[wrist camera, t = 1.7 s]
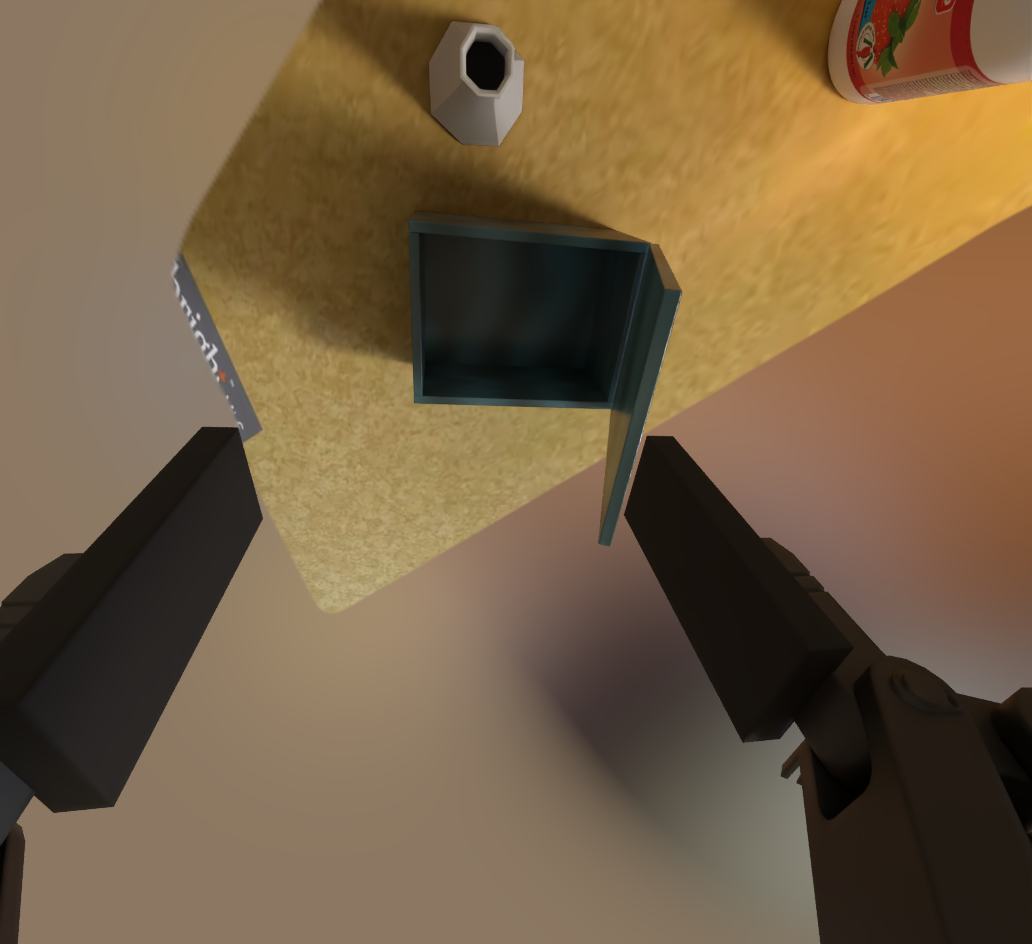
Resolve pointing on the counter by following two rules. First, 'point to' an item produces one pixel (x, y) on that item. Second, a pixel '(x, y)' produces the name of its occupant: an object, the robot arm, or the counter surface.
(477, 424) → the counter surface
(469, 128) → the flask
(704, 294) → the counter surface
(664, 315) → the lid
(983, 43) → the fruit juice
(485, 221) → the chest
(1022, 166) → the counter surface
